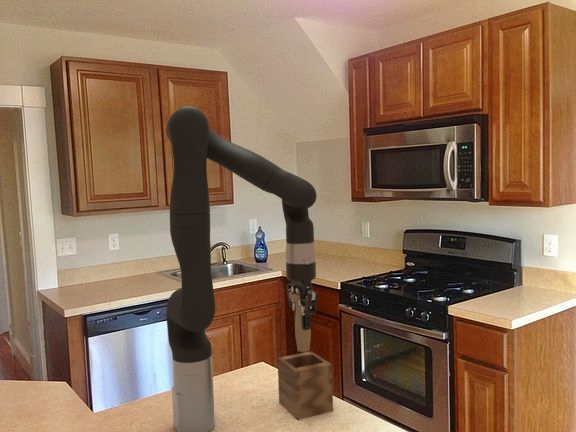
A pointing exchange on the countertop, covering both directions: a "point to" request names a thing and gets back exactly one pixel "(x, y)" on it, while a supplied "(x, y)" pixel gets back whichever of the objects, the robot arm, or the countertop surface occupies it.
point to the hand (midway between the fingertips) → (302, 326)
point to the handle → (300, 327)
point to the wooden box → (305, 384)
